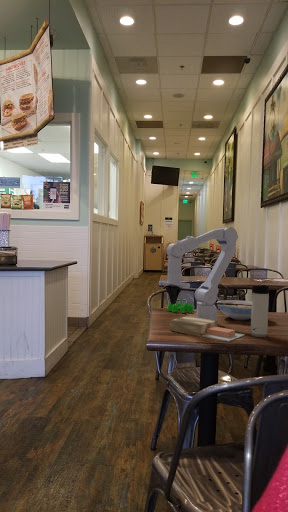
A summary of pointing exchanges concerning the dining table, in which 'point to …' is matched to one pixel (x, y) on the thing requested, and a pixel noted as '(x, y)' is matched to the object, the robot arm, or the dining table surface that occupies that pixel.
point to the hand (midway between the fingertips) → (173, 303)
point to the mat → (224, 337)
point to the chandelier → (182, 309)
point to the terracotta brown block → (220, 332)
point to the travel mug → (259, 311)
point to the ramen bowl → (236, 309)
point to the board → (192, 325)
